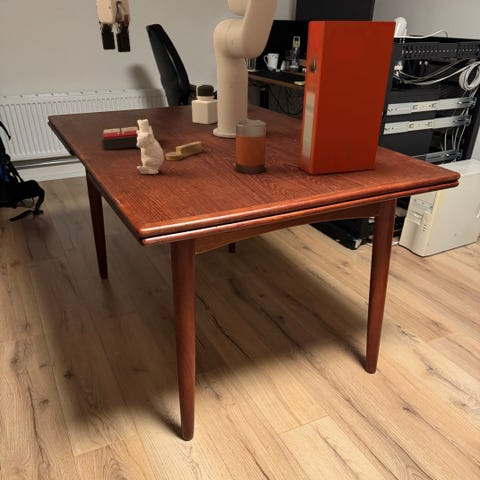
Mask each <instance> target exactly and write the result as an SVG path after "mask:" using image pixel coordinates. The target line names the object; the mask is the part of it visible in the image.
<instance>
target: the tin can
mask: <svg viewBox="0 0 480 480" xmlns="http://www.w3.org/2000/svg"><path fill="white" fill-rule="evenodd" d="M256 120H257V119H255V120H254V119H250V120H245V121H239V122H238V123H236V138H235V171H236V172H238V173H240V174H243V175H244V174H245V175H255V174H256V175H258V174H261V173H264V172H265V169H266V167H265V166H266V165H265V164H266V148H267V147H266V144H267V142H266V141H267V123H266V122H265V121H263V120H260V121H256Z"/></svg>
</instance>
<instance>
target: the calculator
mask: <svg viewBox="0 0 480 480" xmlns="http://www.w3.org/2000/svg"><path fill="white" fill-rule="evenodd" d="M137 130H140V127H139V126H130V127H121V128H108V129H106V128H105V129H103V131H102V133H101V134H102V135H101V141H102V146H103V150H104V151H109V150H119V149H128V148H138V147H137V142H138V141H137V137H138V134H137V133H136V131H137ZM149 133H152V134H153V135H154V138H155V139H156V140H157V138H156V133H155V130H154V128H153V126H151V125H149Z"/></svg>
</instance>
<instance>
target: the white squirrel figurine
mask: <svg viewBox="0 0 480 480" xmlns="http://www.w3.org/2000/svg"><path fill="white" fill-rule="evenodd" d="M136 122H137V124H138V128H139V127H140V130H137V131H136V133H137V134H138V137H137V141H138V142H137V147H136V148H139V149H140V157H141V158H140V160H141V163H142V166H141V165H137V166H136V169H137V170H138V171H139V172H140V174H142V175H148V174H149V175H155V174H159V169H160V167H161V166H162V165H163V164H164V163H165V154H164V150H163V148H162V147H161V144H160V143H159V141H158V140H157V138H156V137H155V138H156V139H155V138H154V135H153V134H152V133H149V126H150V124H149V120H148V119H138V120H137V121H136Z"/></svg>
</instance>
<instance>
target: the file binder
mask: <svg viewBox="0 0 480 480" xmlns="http://www.w3.org/2000/svg"><path fill="white" fill-rule="evenodd" d="M396 26H397V21H390V20H389V21H388V20H384V21H383V20H381V21H378V20H359V21H358V20H316V21H315V20H311V21H309V22H308V34H307V47H306V48H307V49H306V63H305V64H306V65H305V76H304V77H305V78H304V93H303V107H302V121H301V135H300V136H301V137H300V149H299V150H300V151H299V166H298V167H299V169H301V170H303V171H305V172H306V173H308V174H309V175H311V176H312V175H323V174H334V173H343V172H344V173H346V172H355V171H366V170H374V169H375V164H376V157H377V153H378V144H379V138H380V132H381V126H382V118H383V111H384V105H385V98H386V92H387V85H388V80H389V72H390V67H391V59H392V53H393V47H394V42H395V41H394V39H395V33H396Z"/></svg>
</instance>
